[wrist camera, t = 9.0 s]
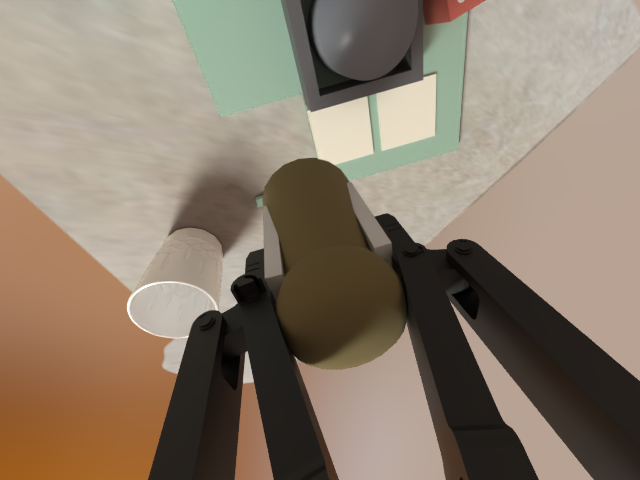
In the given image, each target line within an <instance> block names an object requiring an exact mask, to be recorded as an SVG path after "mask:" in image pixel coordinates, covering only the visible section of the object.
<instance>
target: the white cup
mask: <svg viewBox="0 0 640 480" xmlns="http://www.w3.org/2000/svg"><path fill="white" fill-rule="evenodd" d="M222 259H223V252H222V245H221V244H220V242H219V241H218V240H217V238H216V237H215V236H214V235H212V234H210V233H209V232H207V231H205V230H203V229H197V228H190V227H189V228H184V229H179V230H176V231H175V232H173V233H172V234H171V235H169V236H168V237H167V238H166V240H165V242H164V243H163V245H162V247H161V248H160V250H159V251H158V252H157V253H156V255H155V257H154V258H153V260H152V261H151V263H150V264H149V266H148V267H147V269H146V271H145V273H144V274H143V276H142V278H141V279H140V281H139V283H138V285H137V286H136V288H135V290H134V291H133V293H132V295H131V296H130V298H129V300H128V303H127V311H128V315H129V317H130V318H131V320H132V321H133V322H134V323H135V324H136V325H137V326H138V327H139V328H141V329H143V330H145V331H146V332H149V333H151V334H154V335H157V336H161V337H166V338H186V337H189V333H190V329H191V326H192V324H193V322H194V321H195V320H196V318H197V317H198V316H200V315H201V314H203V313H204V312H207V311H209V310H217V311H219V302H220V292H221V282H222Z"/></svg>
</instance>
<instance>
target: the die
mask: <svg viewBox="0 0 640 480" xmlns="http://www.w3.org/2000/svg"><path fill="white" fill-rule="evenodd" d="M483 1H485V0H423V14H424V19H425V23H426V25H430V24H437V23H445V22H451V21H453V20H454V19H456V18H458V17H459V16H461V15H463V14H464V13H466V12H467V11H469V10H471V9H472V8H474V7H475V6H477V5H479V4H480V3H482V2H483Z"/></svg>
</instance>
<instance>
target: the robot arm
mask: <svg viewBox="0 0 640 480" xmlns="http://www.w3.org/2000/svg"><path fill="white" fill-rule="evenodd" d="M347 186H348V190H349V194H350V198H351V201H352V205H353V209H354V213H355V215H356V217H357V220H358V222H359V224H360V227H361V229H362V232H363V234H364V236H365V239H366V241H367V243H368V246H369V248H370V250H371V251H372V252H374V253H376V254H378V255H379V256H381V257H382V258H383V259H384V260H385V261H387V262H388V264H389V265H390V266H391V267H392V268H393V270H394V271H395V272H396V273H397V275H398V276H399V278H400V280H401V281H402V283H403V286H404V290H405V294H406V299H407V309H408V316H407V321H406V323H407V326H408V330H409V334H410V338H411V341H412V345H413V349H414V353H415V357H416V361H417V364H418V368H419V372H420V376H421V379H422V383H423V387H424V391H425V395H426V398H427V402H428V406H429V410H430V413H431V417H432V421H433V425H434V429H435V432H436V436H437V440H438V444H439V448H440V451H441V455H442V460H443V466H444V473H445V478H446V480H539V479H538V477H537V475H536V473H535V471H534V469H533V466H532V464H531V462H530V460H529V458H528V456H527V453H526V451H525V449H524V447H523V445H522V443H521V441H520V439H519V438H518V436H517V434H516V433H515V432H514V430H513V429H512V428H511V427H509V426H508V425H507V424H505V422H504V421H503V419H502V417H501V415H500V413H499V411H498V409H497V406H496V404H495V402H494V400H493V398H492V395H491V393H490V391H489V388H488V386H487V384H486V382H485V379H484V377H483V375H482V373H481V370H480V368H479V366H478V364H477V362H476V359H475V357H474V355H473V352H472V350H471V348H470V346H469V343H468V341H467V339H466V337H465V334H464V332H463V330H462V328H461V325H460V323H459V321H458V319H457V316H456V314H455V312H454V309H453V307H452V305H451V303H452V304H453V305H454V306H455V307H456V309H457V310H458V311H459V312H460V314H461V315H462V316H463V317H464V319H465V320H466V321H467V322H468V324H469V325H470V326H471V327H472V329H473V330H474V331H475V332H476V334H477V335H478V336H479V337H480V339H481V340H482V341H483V342H484V344H485V345H486V346H487V347H488V349H489V350H490V351H491V352H492V354H493V355H494V356H495V357H496V359H497V360H498V361H499V362H500V364H502V366H503V367H504V369H505V370H506V371H507V372H508V373H509V375H510V376H511V377H512V378H513V380H514V381H515V382H516V383H517V385H518V386H519V387H520V388H521V390H522V391H523V392H524V393H525V395H526V396H527V397H528V398H529V399H530V401H531V402H532V403H533V405H534V406H535V407H536V408H537V409H538V411H539V412H540V413H541V415H542V416H543V417H544V418H545V419H546V421H547V422H548V423H549V424H550V426H551V427H552V428H553V429H554V431H555V432H556V433H557V434H558V436H559V437H560V438H561V439H562V441H563V442H564V443H565V444H566V446H567V447H568V448H569V449H570V451H571V452H572V453H573V454H574V456H575V457H576V458H577V459H578V461H579V462H580V463H581V464H582V466H583V467H584V468H585V469H586V471H587V472H588V473H589V474H590V476H591V477H592V478H593V479H594V480H640V381H639V380H638V379H637V378H635V377H634V376H633V375H632V374H631V373H629V372H628V371H627V370H626V369H625V368H624V367H622V366H621V365H620V364H619V363H617V362H616V361H615V360H614V359H613V358H612V357H611V356H609V355H608V354H607V353H606V352H605V351H603V350H602V349H601V348H600V347H599V346H598V345H596V344H595V343H594V342H593V341H592V340H591V339H589V338H588V337H587V336H586V335H585V334H583V333H582V332H581V331H580V330H579V329H578V328H576V327H575V326H574V325H573V324H572V323H570V322H569V321H568V320H567V319H566V318H564V317H563V316H562V315H561V314H560V313H559V312H557V311H556V310H555V309H554V308H553V307H552V306H550V305H549V304H548V303H547V302H546V301H544V300H543V299H542V298H541V297H540V296H538V295H537V294H536V293H535V292H534V291H533V290H532V289H530V288H529V287H528V286H527V285H526V284H524V283H523V282H522V281H521V280H520V279H518V278H517V277H516V276H515V275H514V274H513V273H511V272H510V271H509V270H508V269H507V268H506V267H504V266H503V265H502V264H501V263H500V262H498V261H497V260H496V259H495V258H494V257H493V256H491V255H490V254H489V253H488V252H487V251H485V250H484V249H483V248H482V247H481V246H480V245H478V244H477V243H475V242H473V241H471V240H467V239H458V240H453V241H452V242H449V244H448V245H447V249H441V250H429V249H426V248H425V246H423V245H421V244H419V243H415V242H414V241H413V240H412V239H411V237H410V236H409V235H408V233H407V232H406V231H405V230H404V228H402V226H401V225H400V223H399V222H398V221H397V220H396V218H395V217H394V216H392V215H390V214H388V213H386V214H383V215H379V216H376V217H374V216H373V214H372V213H371V211H370V210H369V208H368V207H367V205H366V204H365V202H364V201H363V199H362V198H361V196H360V195H359V193H358V192H357V190H356V189H355V187H354V186H353V184H352V183H351V182H348V183H347ZM263 226H264V249H260V250H257V251H253V252H250V253H249V255H248V257H247V258H246V267H245V272H246V273H245V274H244V275H242V276H240V277H238V278H237V279H236V280H235V281H234V282H233V284H232V285H231V292H232V294H233V295H234V297H235V299H236V300H237V302H238V304H236V305H235V306H234V307H232V308H231V309H229V310H227V311H226V312H224V313H222V314H221V313H220V312H219V311H217V310H209V311H207V312H204V313H203V314H201V315H200V316H198V317H197V318H196V320H195V321H194V322H193V324H192V326H191V329H190V333H189V337H188V340H187V344H186V347H185V351H184V354H183V358H182V361H181V365H180V368H179V372H178V376H177V379H176V383H175V386H174V390H173V394H172V397H171V401H170V404H169V407H168V411H167V415H166V418H165V422H164V425H163V429H162V432H161V436H160V439H159V443H158V447H157V450H156V454H155V457H154V461H153V464H152V468H151V471H150V475H149V479H148V480H234V479H235V468H236V456H237V443H238V432H239V420H240V408H241V396H242V385H243V373H244V361H245V352H247V351H248V354H249V359H250V364H251V369H252V374H253V379H254V384H255V388H256V394H257V399H258V403H259V409H260V413H261V418H262V423H263V428H264V433H265V438H266V443H267V448H268V453H269V458H270V463H271V468H272V473H273V478H274V480H339V479H338V476H337V473H336V471H335V468H334V465H333V462H332V459H331V457H330V454H329V451H328V448H327V446H326V443H325V440H324V437H323V434H322V432H321V429H320V426H319V423H318V420H317V418H316V415H315V412H314V410H313V406H312V404H311V401H310V398H309V395H308V393H307V390H306V387H305V384H304V382H303V379H302V376H301V373H300V370H299V367H298V365H297V362H296V359H295V356H294V355H293V354H292V352H291V350H290V349H289V347H288V344H287V342H286V340H285V337H284V335H283V333H282V330H281V328H280V325H279V322H278V320H277V317H276V301H277V297H278V293H279V290H280V287H281V284H282V280H283V278H284V277H285V271H284V266H283V260H282V254H281V248H280V243H279V237H278V234H277V232H276V229H275V227H274V224H273V221H272V219H271V216H270V214H269V211H268V209H267V206H263ZM450 301H451V303H450Z"/></svg>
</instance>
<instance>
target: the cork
mask: <svg viewBox="0 0 640 480" xmlns="http://www.w3.org/2000/svg"><path fill="white" fill-rule="evenodd" d="M348 182H349V180H348V178H347V177H346V176H345V174H344V173H343V172H342V170H341V169H340V168H338V167H337V166H335V165H333V164H332V163H330V162H329V161H325V160H321V159H317V158H305V159H297V160H295V161H292V162H290V163H287V164H285V165H283V166H282V167H281V168H280V169H279V170H277V171H276V172H275V173H274V174H273V175H272V176H271V178H270V180H269V181H268V183H267V184H266V186H265V189H264V194H263V199H262V202H263V206H267V209H268V211H269V214H270V216H271V219H272V221H273V224H274V227H275V229H276V232H277V234H278V237H279V243H280V248H281V254H282V260H283V266H284V271H285V277H284V278H283V280H282V284H281V287H280V290H279V293H278V297H277V301H276V317H277V320H278V322H279V325H280V328H281V330H282V333H283V335H284V337H285V340H286V342H287V344H288V347H289V349H290V350H291V352H292V354H293V355H294V356H295V357H296V358H297V359H298V360H300V361H302V362H304V363H305V364H307V365H309V366H313V367H317V368H321V369H346V368H352V367H357V366H359V365H362V364H365V363H368V362H370V361H371V360H374V359H375V358H377V357H379V356H381V355H382V354H383V353H385V352H386V351H387V350H388V349H389V348H390V347H392V346H393V345H394V344H395V343H396V342H397V340H398V339H399V338H400V336H401V335H402V333H403V332H404V329H405V325H406V321H407V316H408V309H407V299H406V294H405V290H404V286H403V283H402V281H401V280H400V278H399V276H398V275H397V273H396V272H395V271H394V270H393V268H392V267H391V266H390V265H389V264H388V262H387V261H385V260H384V259H383V258H382V257H381V256H379V255H378V254H376V253H374V252H372V251H371V250H370V248H369V246H368V243H367V241H366V239H365V236H364V234H363V232H362V229H361V227H360V224H359V222H358V220H357V217H356V215H355V213H354V209H353V205H352V201H351V198H350V194H349V190H348V186H347V183H348Z"/></svg>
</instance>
